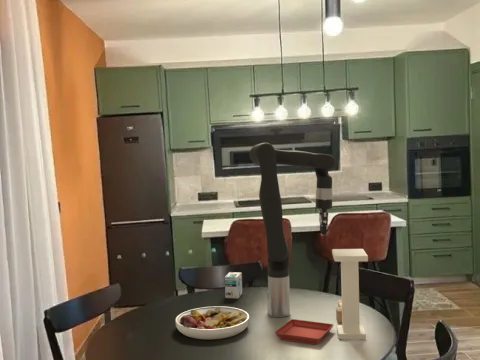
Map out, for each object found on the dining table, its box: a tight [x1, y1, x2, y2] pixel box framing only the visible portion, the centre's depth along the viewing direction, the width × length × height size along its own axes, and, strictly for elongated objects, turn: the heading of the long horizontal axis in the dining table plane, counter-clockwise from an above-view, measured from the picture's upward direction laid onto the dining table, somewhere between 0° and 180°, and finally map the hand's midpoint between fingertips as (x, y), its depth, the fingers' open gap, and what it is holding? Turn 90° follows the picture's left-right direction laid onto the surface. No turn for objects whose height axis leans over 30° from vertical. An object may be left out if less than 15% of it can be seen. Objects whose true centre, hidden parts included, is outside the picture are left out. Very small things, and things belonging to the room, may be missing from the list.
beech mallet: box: [335, 299, 342, 324], centre depth 225 cm, size 23×8×5 cm, turn 174°
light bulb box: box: [224, 271, 243, 299], centre depth 259 cm, size 11×7×11 cm, turn 169°
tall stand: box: [331, 248, 369, 340], centre depth 199 cm, size 14×12×32 cm
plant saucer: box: [274, 318, 334, 345], centre depth 201 cm, size 18×18×3 cm
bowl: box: [175, 305, 250, 340], centre depth 212 cm, size 30×30×8 cm
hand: (323, 233), depth 238 cm, fingers open, 8 cm apart
